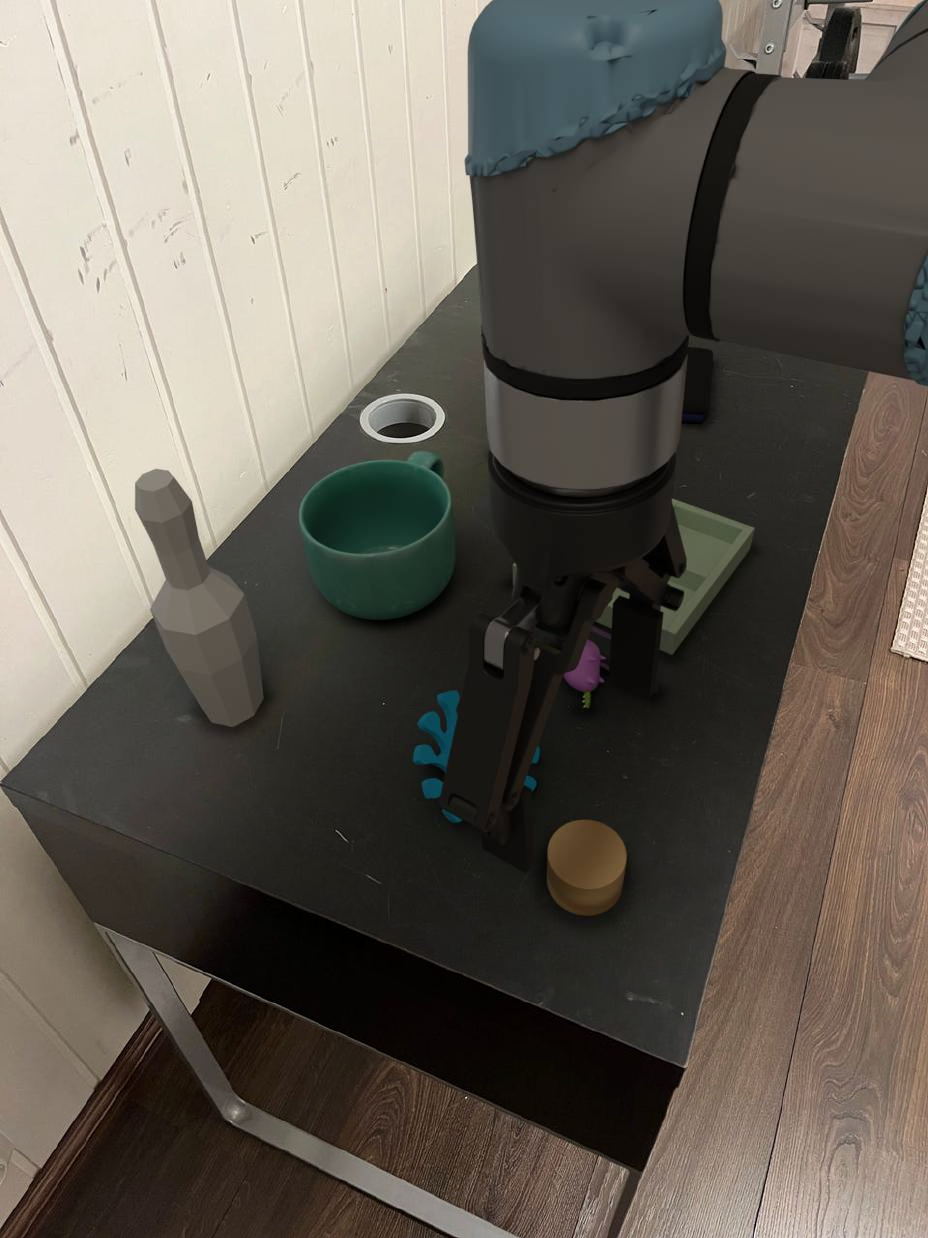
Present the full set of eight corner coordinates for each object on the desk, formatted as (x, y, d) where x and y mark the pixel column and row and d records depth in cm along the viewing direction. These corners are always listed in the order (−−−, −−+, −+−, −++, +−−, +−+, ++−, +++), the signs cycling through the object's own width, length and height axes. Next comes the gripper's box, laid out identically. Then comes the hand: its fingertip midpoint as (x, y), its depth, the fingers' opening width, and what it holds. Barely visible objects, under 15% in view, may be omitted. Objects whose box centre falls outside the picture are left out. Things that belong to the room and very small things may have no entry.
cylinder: (636, 871, 63) (640, 843, 60) (598, 930, 60) (601, 903, 57) (571, 835, 65) (573, 806, 62) (532, 890, 62) (532, 862, 60)
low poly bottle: (232, 662, 78) (158, 439, 62) (289, 694, 75) (226, 469, 60) (175, 712, 74) (82, 490, 59) (232, 748, 72) (150, 524, 56)
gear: (468, 857, 62) (397, 725, 61) (424, 857, 67) (358, 734, 66) (576, 771, 68) (513, 650, 67) (528, 776, 73) (469, 663, 72)
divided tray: (750, 549, 84) (754, 527, 83) (672, 655, 76) (675, 634, 74) (599, 493, 91) (601, 472, 89) (512, 585, 83) (512, 564, 81)
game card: (656, 645, 68) (552, 596, 72) (619, 704, 66) (515, 651, 70) (663, 683, 73) (566, 636, 78) (629, 738, 72) (532, 687, 76)
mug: (407, 660, 77) (395, 574, 70) (287, 609, 82) (265, 525, 75) (505, 543, 87) (503, 458, 80) (393, 504, 92) (382, 421, 85)
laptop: (699, 441, 97) (701, 424, 95) (515, 409, 102) (515, 393, 101) (729, 364, 107) (731, 348, 105) (560, 338, 113) (560, 323, 111)
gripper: (640, 295, 46) (620, 606, 61) (303, 597, 32) (383, 905, 47) (790, 329, 43) (730, 650, 58) (485, 682, 29) (510, 985, 44)
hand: (574, 765), depth 52 cm, fingers open, 13 cm apart
